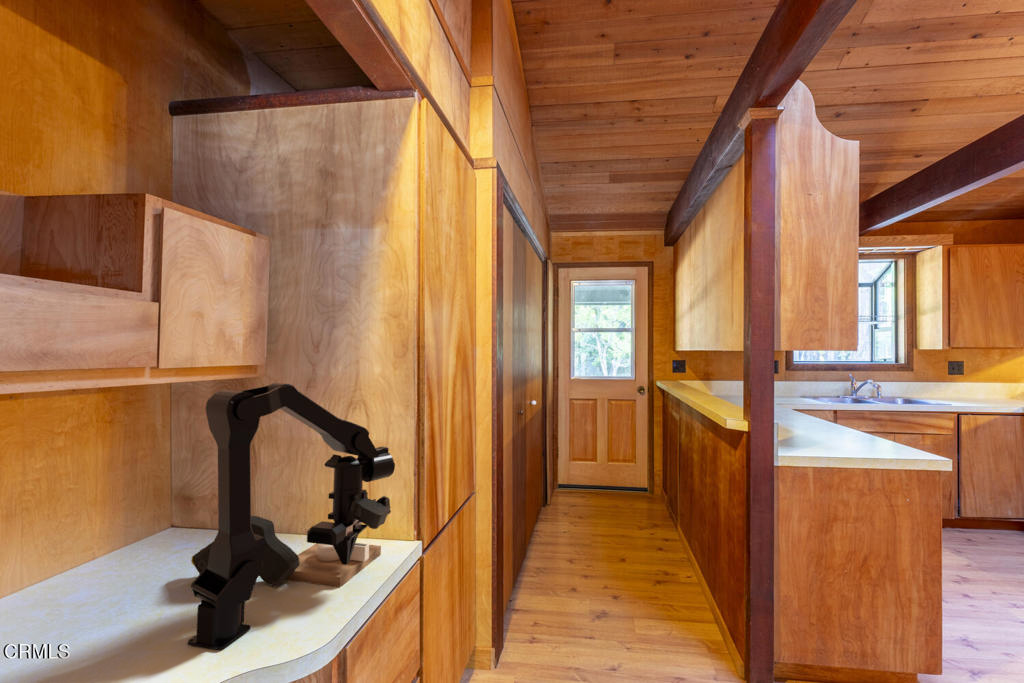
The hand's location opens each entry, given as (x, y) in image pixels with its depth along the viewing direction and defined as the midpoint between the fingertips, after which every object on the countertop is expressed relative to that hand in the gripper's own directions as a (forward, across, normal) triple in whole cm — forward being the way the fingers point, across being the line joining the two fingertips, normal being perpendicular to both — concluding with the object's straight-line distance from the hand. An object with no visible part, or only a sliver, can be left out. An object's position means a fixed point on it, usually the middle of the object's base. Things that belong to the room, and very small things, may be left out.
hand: (345, 563), depth 101 cm
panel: (+4, +6, +7) cm, 10 cm away
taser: (+4, -5, +20) cm, 20 cm away
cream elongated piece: (+1, +6, +4) cm, 7 cm away
